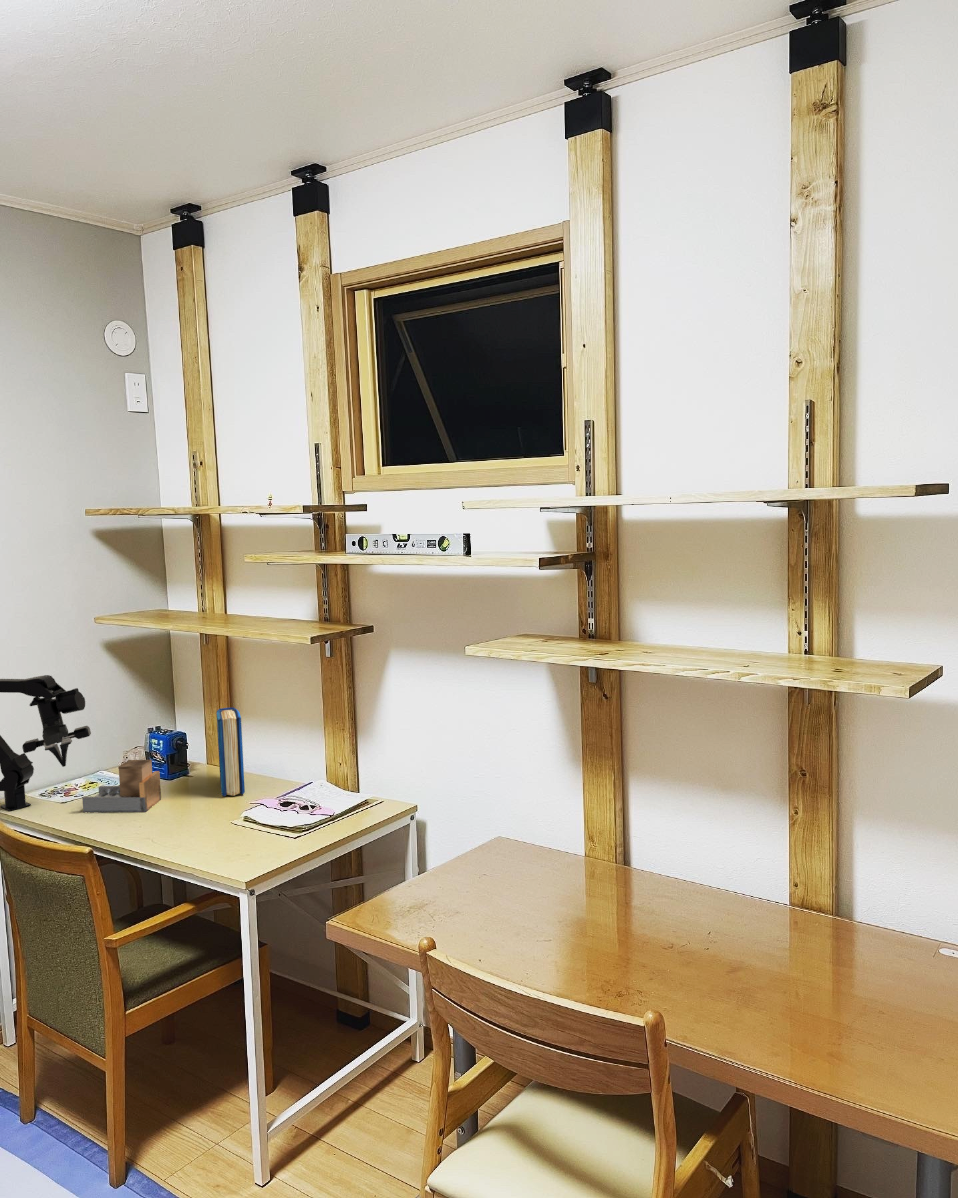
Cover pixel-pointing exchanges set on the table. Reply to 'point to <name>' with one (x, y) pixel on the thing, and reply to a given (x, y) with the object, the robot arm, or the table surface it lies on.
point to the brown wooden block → (133, 776)
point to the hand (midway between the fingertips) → (64, 766)
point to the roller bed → (125, 797)
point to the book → (230, 751)
